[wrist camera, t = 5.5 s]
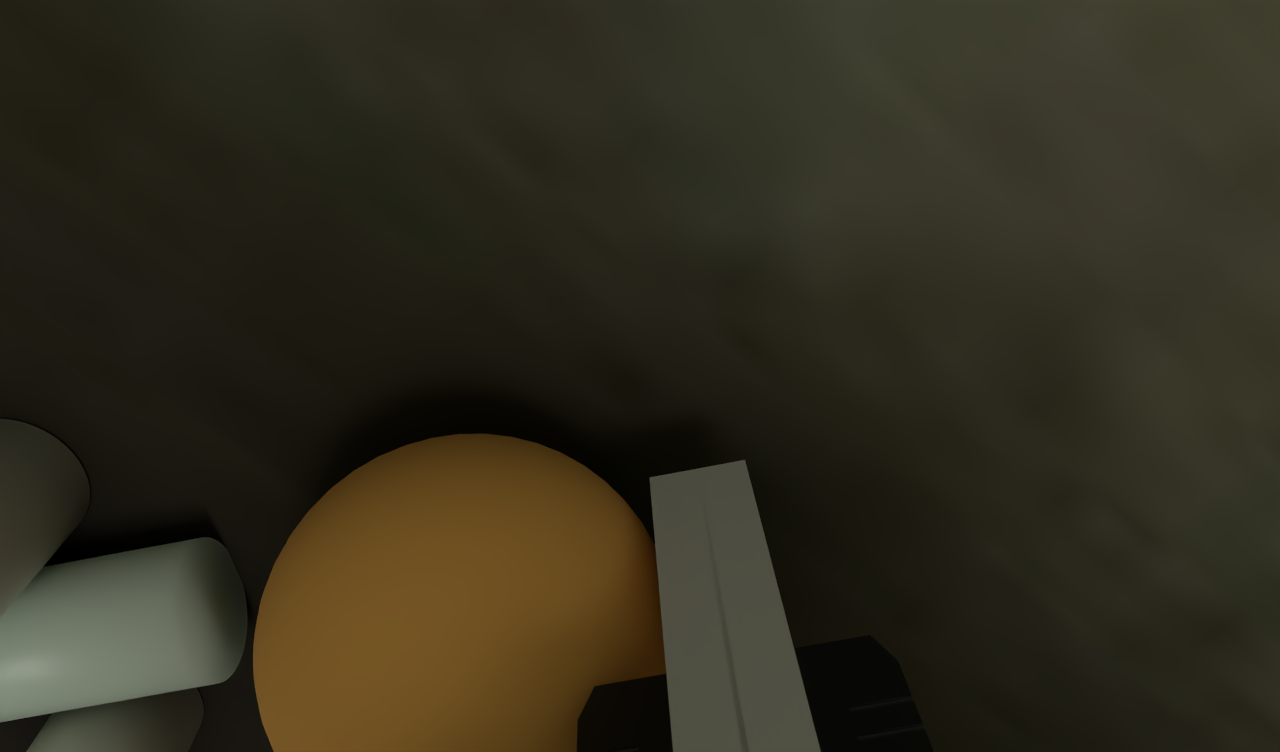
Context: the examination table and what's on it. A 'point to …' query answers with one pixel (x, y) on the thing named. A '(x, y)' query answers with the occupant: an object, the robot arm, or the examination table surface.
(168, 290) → the examination table surface
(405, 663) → the ball
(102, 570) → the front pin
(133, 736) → the pin
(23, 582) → the pin
